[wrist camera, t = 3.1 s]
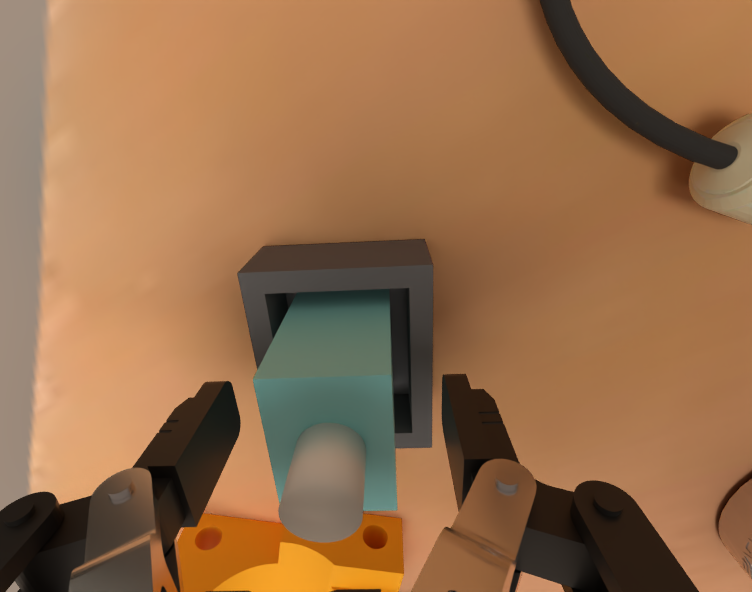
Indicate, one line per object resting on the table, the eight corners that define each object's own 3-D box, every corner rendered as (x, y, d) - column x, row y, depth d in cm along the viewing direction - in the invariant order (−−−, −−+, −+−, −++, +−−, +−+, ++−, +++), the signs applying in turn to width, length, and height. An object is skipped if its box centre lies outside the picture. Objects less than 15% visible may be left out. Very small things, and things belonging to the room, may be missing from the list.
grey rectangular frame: (424, 239, 16) (433, 264, 13) (424, 399, 19) (431, 447, 16) (263, 246, 16) (237, 273, 13) (290, 403, 19) (274, 451, 17)
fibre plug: (389, 280, 16) (392, 431, 8) (393, 382, 18) (399, 579, 10) (301, 284, 16) (224, 435, 8) (315, 384, 18) (263, 581, 10)
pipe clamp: (401, 515, 23) (407, 652, 17) (388, 562, 25) (389, 701, 19) (192, 487, 22) (123, 619, 16) (194, 538, 24) (132, 673, 18)
